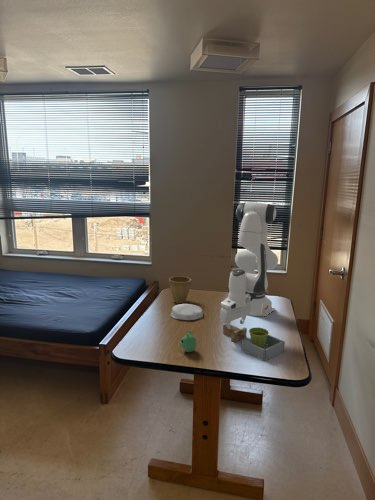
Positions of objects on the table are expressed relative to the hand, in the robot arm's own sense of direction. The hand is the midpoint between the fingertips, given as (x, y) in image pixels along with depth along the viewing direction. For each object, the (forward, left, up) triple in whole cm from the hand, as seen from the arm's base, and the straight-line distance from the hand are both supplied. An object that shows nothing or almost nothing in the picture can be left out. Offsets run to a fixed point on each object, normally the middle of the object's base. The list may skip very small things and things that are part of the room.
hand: (235, 325), depth 178 cm
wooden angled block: (+1, -1, -6) cm, 6 cm away
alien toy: (+30, -3, -6) cm, 30 cm away
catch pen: (+1, +18, -6) cm, 19 cm away
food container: (+1, -39, -7) cm, 40 cm away
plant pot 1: (-10, -60, -6) cm, 61 cm away
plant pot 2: (0, +15, -6) cm, 17 cm away
